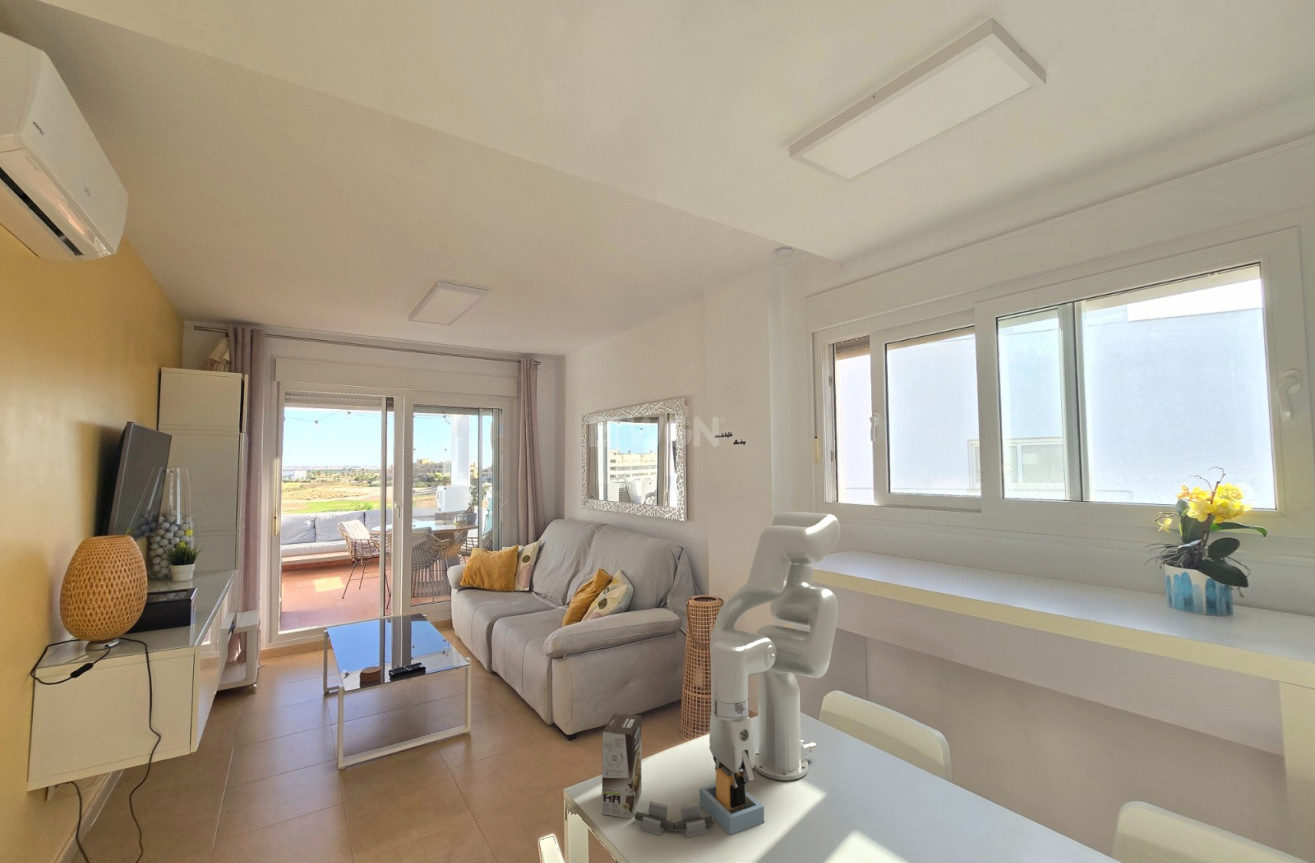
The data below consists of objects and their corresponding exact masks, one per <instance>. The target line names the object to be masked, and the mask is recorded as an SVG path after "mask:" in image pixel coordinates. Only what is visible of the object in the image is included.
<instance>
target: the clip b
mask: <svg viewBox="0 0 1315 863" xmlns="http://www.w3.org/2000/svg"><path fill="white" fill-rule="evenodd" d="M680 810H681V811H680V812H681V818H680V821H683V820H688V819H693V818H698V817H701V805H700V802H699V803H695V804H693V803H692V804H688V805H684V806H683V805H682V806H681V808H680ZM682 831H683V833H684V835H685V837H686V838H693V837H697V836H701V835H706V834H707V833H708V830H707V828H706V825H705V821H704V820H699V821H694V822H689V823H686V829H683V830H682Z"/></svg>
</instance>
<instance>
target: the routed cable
mask: <svg viewBox="0 0 1315 863" xmlns="http://www.w3.org/2000/svg"><path fill="white" fill-rule="evenodd" d="M643 817H648V818H651V819H654V820H658V821H661V827H662V828H665V829H666V830H669V831H673V832H674V831H675V832H677V831H683V829H686V823H689V822H694V821H699V820H704V821H705V826H707V825H713V823H714V818H713V817H712V816H711V815H710V814H709V815H704V816H700V817H698V818H693V819H688V820H683V821H681V820H678V821H672V820H668V819H667V820H666V819H662V818H659V817H655V816H652V815H649V813H644V812H641V811H635V813H634V821H635V820H636V821H639V822H642V819H643ZM665 829H664V830H665Z"/></svg>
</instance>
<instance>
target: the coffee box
mask: <svg viewBox="0 0 1315 863" xmlns="http://www.w3.org/2000/svg"><path fill="white" fill-rule="evenodd" d="M601 746H602V749H601V750H602V752H601V754H602V757H601V758H602V763H601V769H602V770H601V777H602V778H601V784H602V785H601V786H602V787H601V814H602V815H604V816H605V815H606V816H613V817H621V818H626V819H631V818H632V816H633V815H634V812H635V809H636V807H637V804H638V802H639V799H640V798H641V797H640V796H641V794H642V715H640V714H628V713H626V714H625V713H624V714H619V713H613V715H612V716H611V718H610V719H609V721H608V723H607V724H606V725H605V728H604V729H603V730H602V745H601Z"/></svg>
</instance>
